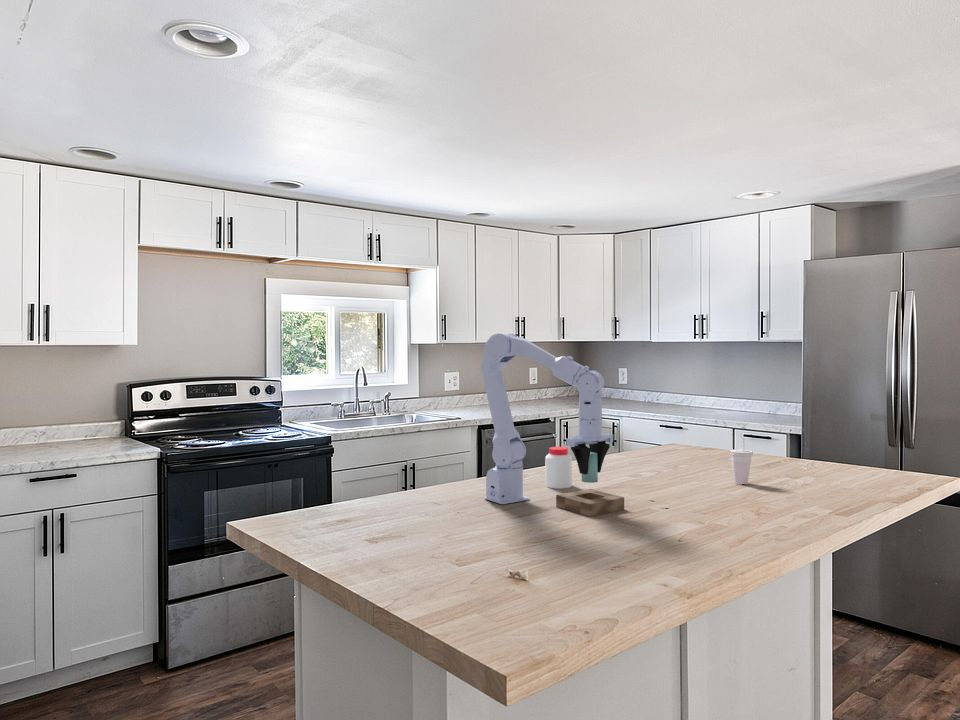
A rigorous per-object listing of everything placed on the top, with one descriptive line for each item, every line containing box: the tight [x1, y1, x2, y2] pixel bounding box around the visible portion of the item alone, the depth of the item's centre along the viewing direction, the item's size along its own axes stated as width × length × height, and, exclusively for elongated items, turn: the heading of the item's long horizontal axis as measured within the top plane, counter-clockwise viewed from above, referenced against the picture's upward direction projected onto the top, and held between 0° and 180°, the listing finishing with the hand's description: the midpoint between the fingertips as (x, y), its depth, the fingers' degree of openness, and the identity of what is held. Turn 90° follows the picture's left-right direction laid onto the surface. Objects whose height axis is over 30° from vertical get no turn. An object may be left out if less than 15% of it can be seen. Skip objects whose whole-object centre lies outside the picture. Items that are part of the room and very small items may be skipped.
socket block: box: [555, 488, 625, 517], centre depth 169 cm, size 12×12×3 cm
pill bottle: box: [544, 446, 573, 490], centre depth 195 cm, size 8×8×11 cm
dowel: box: [581, 452, 599, 484], centre depth 169 cm, size 4×4×7 cm
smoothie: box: [729, 435, 754, 486], centre depth 198 cm, size 6×6×14 cm
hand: (590, 472), depth 169 cm, fingers closed on dowel, 4 cm apart
